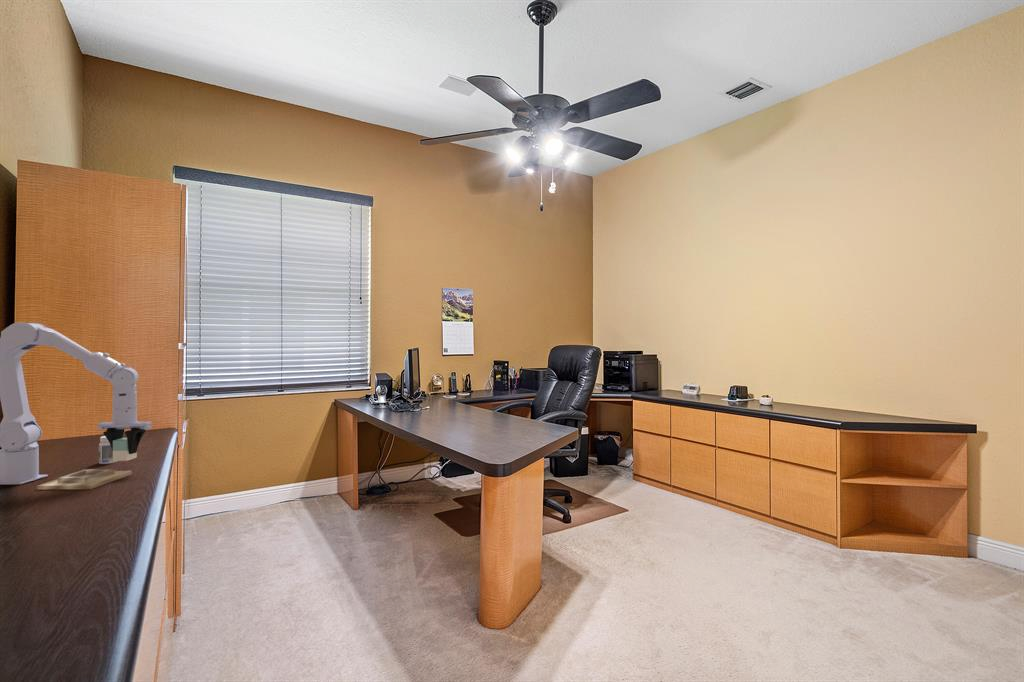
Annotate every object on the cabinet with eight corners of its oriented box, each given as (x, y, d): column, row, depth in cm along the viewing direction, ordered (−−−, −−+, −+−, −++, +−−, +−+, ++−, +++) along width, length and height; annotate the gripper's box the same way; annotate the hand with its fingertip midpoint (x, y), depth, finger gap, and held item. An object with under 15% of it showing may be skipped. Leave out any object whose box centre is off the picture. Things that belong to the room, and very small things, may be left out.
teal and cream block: (112, 460, 143) (112, 440, 143) (123, 457, 147) (123, 437, 147) (126, 460, 143) (126, 440, 143) (136, 457, 147) (136, 437, 147)
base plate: (36, 489, 127) (36, 481, 127) (83, 474, 141) (83, 466, 141) (91, 489, 127) (90, 480, 127) (131, 474, 141) (131, 466, 141)
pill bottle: (122, 460, 157) (121, 434, 157) (108, 464, 152) (108, 437, 152) (108, 460, 157) (108, 434, 157) (94, 464, 153) (94, 437, 153)
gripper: (88, 410, 141) (89, 456, 141) (139, 409, 141) (139, 456, 141) (108, 406, 148) (108, 451, 148) (156, 406, 148) (156, 450, 148)
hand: (125, 453), depth 145 cm, fingers closed on teal and cream block, 4 cm apart
